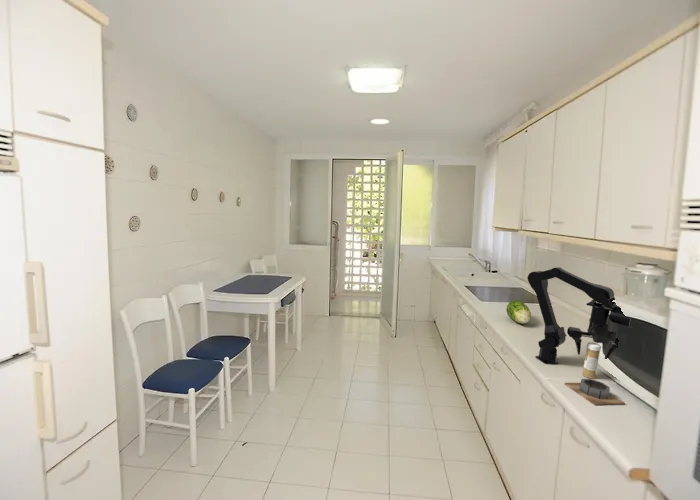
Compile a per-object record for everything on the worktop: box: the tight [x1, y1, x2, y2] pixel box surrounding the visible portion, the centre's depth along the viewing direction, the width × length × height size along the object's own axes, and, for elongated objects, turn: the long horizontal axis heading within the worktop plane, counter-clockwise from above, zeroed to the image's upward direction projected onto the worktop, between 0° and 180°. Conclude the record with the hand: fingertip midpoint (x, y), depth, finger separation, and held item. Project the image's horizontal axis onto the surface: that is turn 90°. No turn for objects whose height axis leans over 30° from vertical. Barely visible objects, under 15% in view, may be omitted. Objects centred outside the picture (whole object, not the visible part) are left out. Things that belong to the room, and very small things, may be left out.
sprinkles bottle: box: [581, 341, 602, 379], centre depth 147 cm, size 5×5×14 cm
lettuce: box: [506, 299, 532, 324], centre depth 210 cm, size 12×21×11 cm, turn 171°
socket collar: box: [579, 378, 611, 399], centre depth 133 cm, size 9×9×3 cm
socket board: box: [564, 382, 626, 406], centre depth 133 cm, size 14×12×1 cm
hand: (591, 357), depth 147 cm, fingers open, 9 cm apart
